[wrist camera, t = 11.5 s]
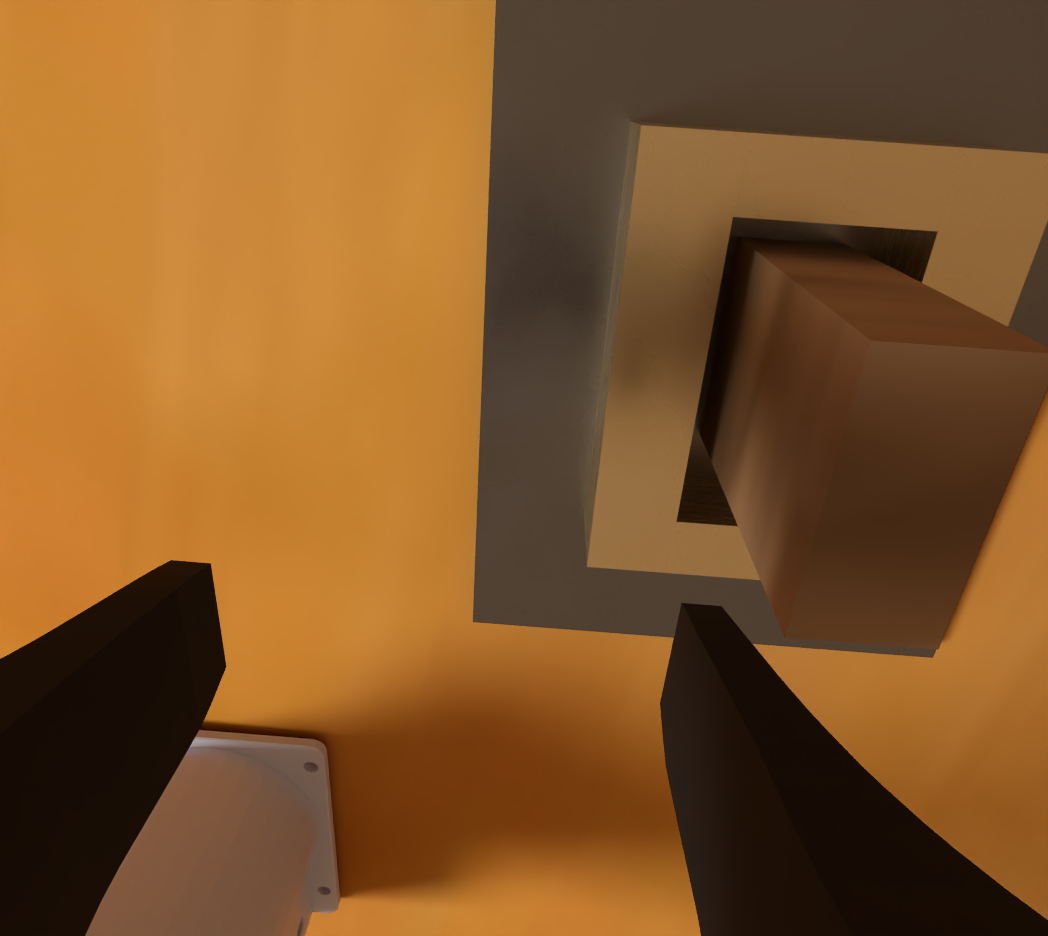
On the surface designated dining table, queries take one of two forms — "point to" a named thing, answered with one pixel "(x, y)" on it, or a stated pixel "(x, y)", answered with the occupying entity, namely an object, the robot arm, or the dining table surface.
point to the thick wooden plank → (862, 437)
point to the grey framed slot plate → (714, 258)
